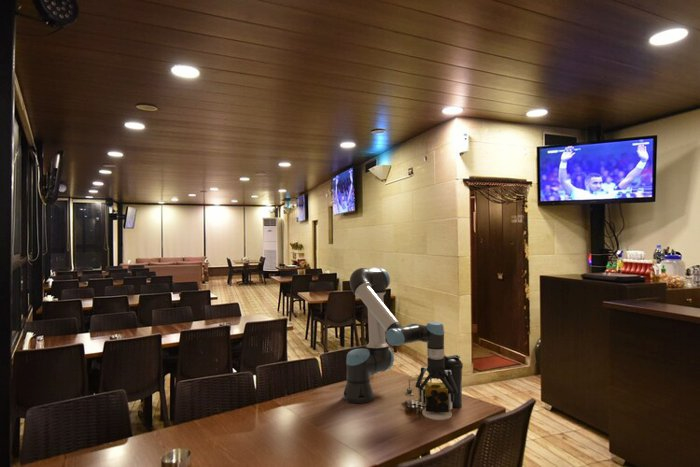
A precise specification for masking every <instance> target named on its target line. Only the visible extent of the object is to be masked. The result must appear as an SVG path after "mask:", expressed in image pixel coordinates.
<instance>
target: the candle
mask: <svg viewBox="0 0 700 467" xmlns="http://www.w3.org/2000/svg"><path fill="white" fill-rule="evenodd" d="M424 389H425V404H426V406H425V408H426V411H427V412H445V413H446V412H449V404H448V388H446V387H445V385H444V383H442V382H432V383H430V381H428V382H427V383H426V384H425V386H424Z"/></svg>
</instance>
